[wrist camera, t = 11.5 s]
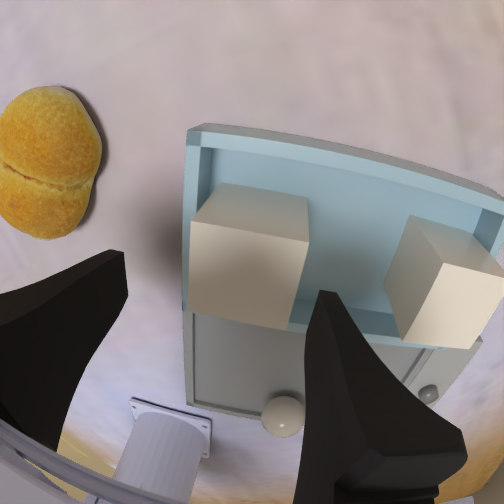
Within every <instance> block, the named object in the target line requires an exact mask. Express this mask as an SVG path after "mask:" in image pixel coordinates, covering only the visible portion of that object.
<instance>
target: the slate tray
mask: <svg viewBox="0 0 504 504" xmlns="http://www.w3.org/2000/svg"><path fill="white" fill-rule="evenodd" d="M305 339H306V334H303V333H297V332H291V331H285V330H279V329H273V328H267V327H262V326H256V325H251V324H245V323H240V322H235V321H230V320H225V319H220V318H215V317H210V316H205V315H200V314H196V313H191V312H186V311H183V342H184V367H185V386H186V402H187V405H189V406H193V407H197V408H201V409H206V410H210V411H215V412H219V413H224V414H229V415H234V416H239V417H245V418H251V419H256V420H261V413H262V410H263V407H264V406H265V404H266V403H267V402H268V401H270V400H271V399H273V398H275V397H278V396H290V397H293V398H295V399H297V400H298V401H299V402H300V403H301V404H302V405H303V407H304V409H305V374H304V350H305ZM482 343H483V341H482V339H481V337H480V336H478V337H477V339H476V340H475V342H474V343H473V345H472V346H471V348H470V349H460V348H450V347H447V349H446V350H440V349H428V348H416V347H405V346H395V345H386V344H377V343H369V345H370V346H371V347H372V349H373V350H374V352H375V353H376V354H377V356H378V357H379V358H380V359H381V361H382V362H383V363H384V364H385V365H386V366H387V368H388V369H389V370H390V371H391V372H392V373H393V374H394V375H395V377H396V378H397V379H398V380H399V381H400V382H401V383H402V384H403V385H404V386H405V387H406V388H407V389H408V390H409V391H411V392H412V393H413V394H414V395H415V396H416V397H417V398H418V399H419V400H421V401H422V402H423V403H424V404H425V405H427V406H428V407H429V408H430V409H432V408H433V407H434V405H435V404H436V403H437V402H438V401H439V400H440V398H441V397H442V396H443V395H444V394H445V392H446V391H447V390H448V389H449V388H450V386H451V385H452V384H453V383H454V381H455V380H456V379H457V378H458V376H459V375H460V374H461V372H462V371H463V370H464V368H465V367H466V366H467V364H468V363H469V362H470V360H471V359H472V357H473V356H474V355H475V353H476V352H477V350H478V349H479V347H480V346H481V344H482ZM303 426H305V423H304V425H303Z"/></svg>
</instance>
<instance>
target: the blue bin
mask: <svg viewBox="0 0 504 504" xmlns="http://www.w3.org/2000/svg"><path fill="white" fill-rule="evenodd" d="M221 182H225V183H231V184H237V185H243V186H249V187H255V188H260V189H266V190H272V191H277V192H282V193H288V194H293V195H298V196H303V197H307V205H308V224H309V246H308V250H307V254H306V258H305V262H304V266H303V270H302V274H301V277H300V281H299V285H298V289H297V292H296V296H295V300H294V303H293V307H292V311H291V314H290V318H289V321H288V325H287V328H286V331H291V332H297V333H303V334H306V331H307V328H308V325H309V322H310V319H311V316H312V312H313V309H314V306H315V303H316V300H317V296H318V293H319V290H326V291H332V292H337V294H338V296H339V297H340V299H341V300H342V302H343V304H344V306H345V307H346V309H347V311H348V312H349V314H350V316H351V317H352V319H353V321H354V322H355V324H356V325H357V327H358V329H359V330H360V332H361V333H362V335H363V336H364V338H365V339H366V341H367V342H368V343H377V344H386V345H395V346H405V347H416V348H428V349H440V350H446V349H447V347H440V346H431V345H422V344H413V343H405V342H402V341H401V338H400V334H399V331H398V327H397V324H396V321H395V318H394V314H393V311H392V308H391V305H390V302H389V299H388V296H387V293H386V290H385V287H384V284H383V281H384V279H385V276H386V274H387V271H388V269H389V267H390V264H391V262H392V259H393V257H394V254H395V252H396V249H397V247H398V244H399V241H400V239H401V236H402V233H403V231H404V228H405V225H406V222H407V220H408V217H409V214H410V215H413V216H417V217H420V218H424V219H427V220H431V221H434V222H438V223H441V224H444V225H448V226H451V227H454V228H458V229H461V230H464V231H467V232H470V233H472V234H473V235H474V237H475V238H476V239H477V240H478V241H479V242H480V243H481V244H482V245H483V246H484V248H485V249H486V250H487V251H488V252H489V253H490V254H491V256H492V257H493V258H494V259H495V260H496V258H497V255H498V253H499V251H500V249H501V246H502V244H503V241H504V197H502V196H501V195H500V194H498V193H497V192H495V191H494V190H492V189H490V188H488V187H485V186H482V185H480V184H477V183H474V182H471V181H469V180H466V179H463V178H460V177H457V176H454V175H451V174H448V173H445V172H442V171H439V170H436V169H433V168H430V167H427V166H423V165H420V164H417V163H413V162H410V161H406V160H403V159H399V158H396V157H392V156H388V155H384V154H381V153H377V152H373V151H369V150H365V149H360V148H356V147H352V146H347V145H343V144H338V143H334V142H329V141H324V140H319V139H314V138H309V137H303V136H298V135H292V134H286V133H280V132H274V131H267V130H260V129H253V128H246V127H238V126H229V125H221V124H211V123H204V124H201V125H199V126H196V127H194V128H191V129H189V130H187V139H186V154H185V172H184V193H183V222H182V311H186V312H191V311H188V281H189V251H190V228H191V220H192V219H193V217H194V216H195V215H196V213H197V212H198V211H199V210H200V208H201V207H202V206H203V204H204V203H205V202H206V200H207V199H208V198H209V197H210V195H211V194H212V193H213V192H214V190H215V189H216V188H217V186H218V185H219V184H220V183H221ZM191 313H195V312H191ZM196 314H200V313H196ZM200 315H204V314H200ZM205 316H209V315H205ZM210 317H213V316H210ZM215 318H218V317H215ZM220 319H223V318H220ZM225 320H228V319H225ZM230 321H233V320H230ZM235 322H237V321H235ZM240 323H242V322H240ZM245 324H248V323H245ZM251 325H253V324H251ZM256 326H258V325H256ZM262 327H263V326H262ZM267 328H269V327H267ZM273 329H274V328H273ZM279 330H280V329H279Z"/></svg>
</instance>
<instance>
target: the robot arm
mask: <svg viewBox="0 0 504 504" xmlns="http://www.w3.org/2000/svg"><path fill="white" fill-rule="evenodd" d="M127 298H128V288H127V280H126V270H125V260H124V252H121V251H116V250H112V249H109V250H107V251H104V252H102V253H99V254H97V255H95V256H93V257H90V258H88V259H86V260H84V261H82V262H80V263H78V264H76V265H74V266H72V267H70V268H68V269H66V270H63V271H61V272H59V273H57V274H54V275H52V276H50V277H48V278H46V279H43V280H41V281H39V282H36V283H34V284H31V285H28V286H25V287H23V288H20V289H17V290H13V291H10V292H6V293H2V294H0V504H190V503H189V500H190V496H191V493H192V489H193V485H194V482H195V478H196V474H197V471H198V467H199V463H200V459H201V458H209V456H210V436H211V421H210V420H208V419H204V418H200V417H196V416H192V415H188V414H184V413H180V412H176V411H172V410H169V409H165V408H162V407H158V406H155V405H152V404H148V403H145V402H142V401H139V400H136V399H130V401H129V404H130V407H131V410H132V413H133V416H134V419H135V422H136V423H135V425H134V427H133V430H132V432H131V434H130V437H129V439H128V442H127V444H126V446H125V449H124V451H123V454H122V456H121V458H120V461H119V463H118V466H117V468H116V471H115V473H114V475H113V478H109V477H107V476H105V475H102V474H100V473H97V472H95V471H93V470H91V469H89V468H86V467H84V466H82V465H80V464H78V463H76V462H74V461H72V460H70V459H68V458H66V457H64V456H62V455H60V454H58V453H56V452H57V448H58V443H59V439H60V435H61V432H62V428H63V424H64V421H65V418H66V415H67V412H68V409H69V406H70V403H71V401H72V398H73V396H74V393H75V391H76V388H77V386H78V383H79V381H80V379H81V377H82V375H83V373H84V370H85V368H86V366H87V364H88V363H89V361H90V359H91V357H92V356H93V354H94V353H95V351H96V350H97V348H98V347H99V345H100V344H101V342H102V341H103V339H104V338H105V336H106V335H107V333H108V332H109V330H110V328H111V327H112V325H113V324H114V322H115V321H116V319H117V318H118V316H119V314H120V312H121V310H122V308H123V306H124V304H125V302H126V300H127ZM304 374H305V426H304V436H303V445H302V452H301V460H300V467H299V473H298V479H297V485H296V490H295V495H294V500H293V504H434V498H435V497H437V496H438V495H439V489H438V485H439V484H440V483H442V482H443V481H445V480H446V479H448V478H449V477H450V476H452V475H453V474H455V473H456V472H457V471H458V470H460V469H461V468H462V467H463V465H464V464H465V463H466V461H467V458H468V455H467V451H466V447H465V443H464V439H463V435H462V432H461V430H460V429H459V428H457V427H456V426H454V425H453V424H451V423H450V422H448V421H447V420H445V419H444V418H442V417H441V416H439V415H438V414H437V413H435V412H434V411H433V410H432V409H430V408H429V407H428V406H427V405H425V404H424V403H423V402H422V401H421V400H419V399H418V398H417V397H416V396H415V395H414V394H413V393H412V392H411V391H409V390H408V389H407V388H406V387H405V386H404V385H403V384H402V383H401V382H400V381H399V380H398V379H397V378H396V377H395V375H394V374H393V373H392V372H391V371H390V370H389V369H388V368H387V366H386V365H385V364H384V363H383V362H382V361H381V359H380V358H379V357H378V356H377V354H376V353H375V352H374V350H373V349H372V347H371V346H370V345H369V343H368V342H367V341H366V339H365V338H364V336H363V335H362V333H361V332H360V330H359V329H358V327H357V325H356V324H355V322H354V321H353V319H352V317H351V316H350V314H349V312H348V311H347V309H346V307H345V306H344V304H343V302H342V300H341V299H340V297H339V296H338V294H337V292H332V291H326V290H319V293H318V296H317V300H316V303H315V306H314V309H313V312H312V316H311V319H310V322H309V325H308V328H307V331H306V339H305V350H304ZM24 458H25V459H27V460H28V461H30V462H31V463H33V464H35V465H36V466H38V467H40V468H41V469H43V470H45V471H47V472H48V473H50V474H52V475H54V476H56V477H57V478H59V479H61V480H63V481H65V482H67V483H69V484H71V485H73V486H75V487H77V488H79V489H81V490H83V491H85V492H87V494H86V496H85V498H84V500H83V502H81V501H79V500H77V499H75V498H73V497H71V496H69V495H68V494H67V492H66V491H64V490H63V489H61V488H60V487H58V486H57V485H56V484H54V483H53V482H52V481H51V480H49V479H48V478H47V477H46V476H45V475H44V474H43V473H42V472H41V471H40V470H38V469H37V468H35V467H34V466H33V465H31V464H30V463H28V462H27V461H26V460H24ZM441 504H474V501H473V497H471V496H469V497H465V498H461V499H457V500H452V501H448V502H444V503H441Z"/></svg>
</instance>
